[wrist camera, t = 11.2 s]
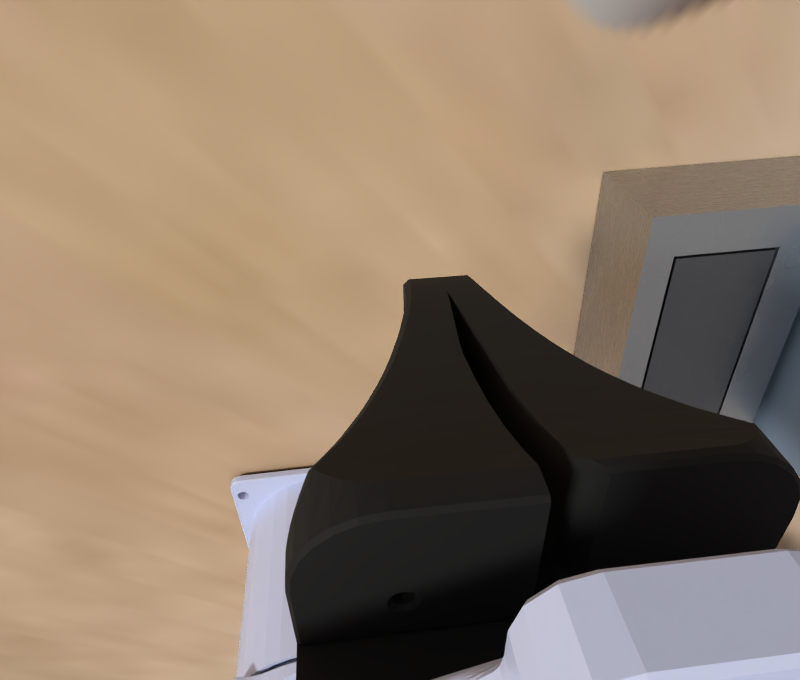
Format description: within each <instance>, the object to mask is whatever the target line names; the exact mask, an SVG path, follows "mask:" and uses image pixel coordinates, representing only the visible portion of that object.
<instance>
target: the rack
mask: <svg viewBox="0 0 800 680" xmlns="http://www.w3.org/2000/svg"><path fill="white" fill-rule="evenodd" d="M799 307H800V156H795V157H783V158H770V159H758V160H746V161H733V162H721V163H709V164H696V165H684V166H672V167H659V168H647V169H635V170H622V171H610V172H603V177H602V184H601V190H600V196H599V202H598V209H597V215H596V221H595V227H594V234H593V240H592V246H591V252H590V259H589V265H588V271H587V277H586V284H585V290H584V296H583V302H582V309H581V315H580V321H579V327H578V334H577V340H576V346H575V352H574V356H576V357H578V358H579V359H581V360H583V361H585V362H586V363H588V364H590V365H592V366H594V367H596V368H598V369H600V370H602V371H604V372H606V373H608V374H610V375H612V376H615V377H617V378H619V379H621V380H623V381H626V382H628V383H630V384H632V385H635V386H637V387H639V388H642V389H645V390H647V391H650V392H652V393H655V394H657V395H660V396H663V397H666V398H669V399H672V400H675V401H677V402H680V403H683V404H686V405H689V406H692V407H695V408H699V409H702V410H706V411H710V412H713V413H717V414H721V415H724V416H728V417H732V418H735V419H739V420H743V421H746V422H750V423H754V422H753V420H754V418H755V415H756V413H757V410H758V408H759V405H760V403H761V401H762V398H763V396H764V393H765V391H766V388H767V386H768V383H769V381H770V378H771V376H772V374H773V371H774V369H775V366H776V364H777V361H778V359H779V356H780V354H781V352H782V349H783V347H784V344H785V342H786V339H787V337H788V334H789V332H790V329H791V327H792V325H793V322H794V320H795V317H796V315H797V312H798V310H799ZM754 424H755V423H754Z"/></svg>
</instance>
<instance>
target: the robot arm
mask: <svg viewBox="0 0 800 680" xmlns="http://www.w3.org/2000/svg"><path fill="white" fill-rule="evenodd" d="M403 292H404V315H403V319H402V323H401V327H400V331H399V335H398V338H397V341H396V343H395V346H394V349H393V352H392V355H391V357H390V360H389V362H388V364H387V366H386V369H385V371H384V373H383V375H382V377H381V379H380V381H379V383H378V385H377V386H376V388H375V390H374V391H373V393H372V395H371V396H370V398H369V400H368V401H367V403H366V405H365V406H364V408H363V409H362V411H361V412H360V413H359V415H358V416H357V417H356V419H355V420H354V421H353V423H352V424H351V425H350V426H349V428H348V429H347V430H346V431H345V433H344V434H343V435H342V437H341V438H340V439H339V440H338V441H337V442H336V444H335V445H334V446H333V447H332V448H331V449H330V450H329V451H328V452H327V453H326V454H325V455H324V456H323V457H322V458H321V459H320V460H319V461H318V462H317V463H316V464H315V465H314V466H313V467H312V468H305V469H296V470H287V471H278V472H270V473H261V474H252V475H243V476H238V477H235V478H234V479H233V480H232V481H231V492H232V495H233V499H234V502H235V505H236V509H237V512H238V515H239V519H240V522H241V525H242V528H243V532H244V535H245V538H246V542H247V545H248V548H249V556H248V566H247V575H246V585H245V595H244V604H243V614H242V624H241V633H240V643H239V653H238V662H237V672H236V678H234V679H233V680H800V550H795V549H780V548H779V549H775V548H776V547H777V545H778V543H779V541H780V540H781V538H782V536H783V534H784V532H785V531H786V529H787V527H788V525H789V523H790V522H791V520H792V518H793V516H794V514H795V511H796V508H797V506H798V503H799V500H800V478H799V477H798V475H797V473H796V471H795V470H794V468H793V467H792V466H791V464H790V463H789V462H788V461H787V460H786V459H785V457H784V456H783V455H782V454H781V453H780V452H779V450H778V449H777V448H776V447H775V446H774V445H773V443H772V442H771V441H770V440H769V439H768V438H767V436H766V435H765V434H764V433H763V432H762V431H761V430H760V429H759V428H758V427H757V425H756V424H754V423H750V422H746V421H743V420H739V419H735V418H732V417H728V416H724V415H721V414H717V413H713V412H710V411H706V410H702V409H699V408H695V407H692V406H689V405H686V404H683V403H680V402H677V401H675V400H672V399H669V398H666V397H663V396H660V395H657V394H655V393H652V392H650V391H647V390H645V389H642V388H639V387H637V386H635V385H632V384H630V383H628V382H626V381H623V380H621V379H619V378H617V377H615V376H612V375H610V374H608V373H606V372H604V371H602V370H600V369H598V368H596V367H594V366H592V365H590V364H588V363H586V362H585V361H583V360H581V359H579V358H578V357H576V356H574V355H572V354H570V353H569V352H567V351H565V350H564V349H562V348H560V347H559V346H557V345H556V344H554V343H553V342H551V341H550V340H548V339H547V338H545V337H544V336H542V335H541V334H539V333H538V332H537V331H535V330H534V329H532V328H531V327H530V326H528V325H527V324H526V323H524V322H523V321H522V320H520V319H519V318H518V317H516V316H515V315H514V314H513V313H511V312H510V311H509V310H508V309H506V308H505V307H504V306H503V305H502V304H500V303H499V302H498V301H497V300H496V299H494V298H493V297H492V296H491V295H490V294H489V293H488V292H486V291H485V290H484V289H483V288H482V287H481V286H480V285H478V284H477V283H476V282H475V281H474V280H473V279H471V278H470V277H469V276H468V275H464V276H450V277H437V278H423V279H410V280H408V281H407V282H406V283H405V284H404V285H403ZM241 492H246V493H241Z"/></svg>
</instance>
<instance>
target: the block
mask: <svg viewBox="0 0 800 680" xmlns="http://www.w3.org/2000/svg"><path fill="white" fill-rule="evenodd" d="M753 422H754V423H755V424H756V425H757V427H758V428H759V429H760V430H761V431H762V432H763V433H764V434H765V435H766V436H767V438H768V439H769V440H770V441H771V442H772V443H773V445H774V446H775V447H776V448H777V449H778V450H779V452H780V453H781V454H782V455H783V456H784V457H785V459H786V460H787V461H788V462H789V463H790V464H791V466H792V467H793V468H794V470H795V471H796V472H797V474H798V475H799V476H800V307H799V310H798V312H797V315H796V317H795V320H794V322H793V325H792V327H791V329H790V332H789V334H788V337H787V339H786V342H785V344H784V347H783V349H782V352H781V354H780V356H779V359H778V361H777V364H776V366H775V369H774V371H773V374H772V376H771V378H770V381H769V383H768V386H767V388H766V391H765V393H764V396H763V398H762V401H761V403H760V405H759V408H758V410H757V413H756V415H755V418H754V420H753Z"/></svg>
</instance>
